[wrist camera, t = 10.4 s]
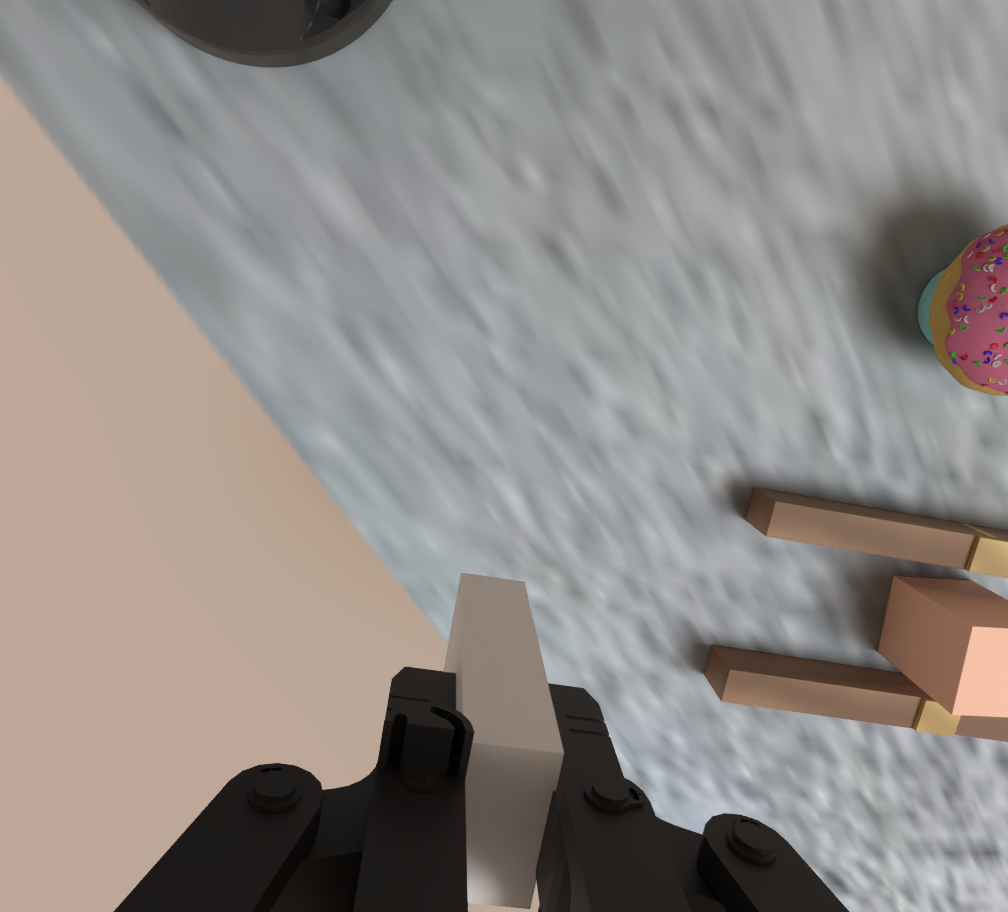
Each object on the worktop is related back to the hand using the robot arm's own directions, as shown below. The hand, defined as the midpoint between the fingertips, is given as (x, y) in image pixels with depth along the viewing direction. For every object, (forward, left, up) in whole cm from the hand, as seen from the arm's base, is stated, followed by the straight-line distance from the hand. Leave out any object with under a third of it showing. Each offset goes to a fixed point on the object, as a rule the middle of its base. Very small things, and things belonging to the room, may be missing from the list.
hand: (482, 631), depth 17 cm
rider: (+6, +30, -24) cm, 39 cm away
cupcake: (-12, +26, -25) cm, 38 cm away
